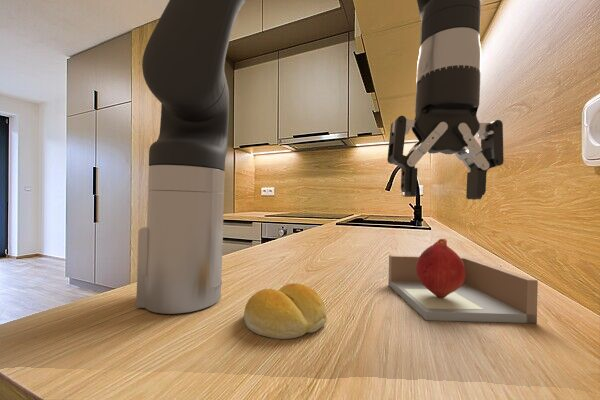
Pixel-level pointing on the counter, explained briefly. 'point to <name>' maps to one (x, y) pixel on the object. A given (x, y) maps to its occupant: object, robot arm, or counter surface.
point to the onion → (440, 269)
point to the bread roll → (285, 312)
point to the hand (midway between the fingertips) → (441, 197)
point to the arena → (468, 293)
